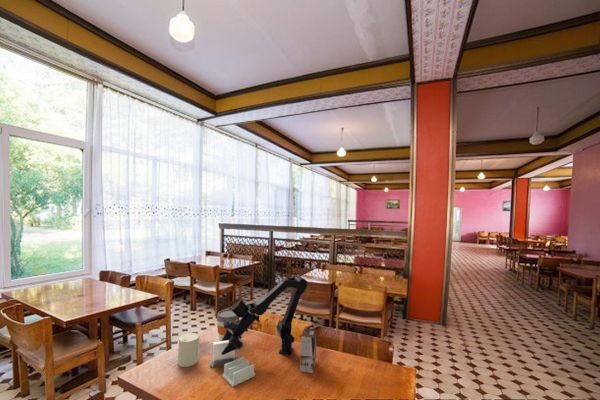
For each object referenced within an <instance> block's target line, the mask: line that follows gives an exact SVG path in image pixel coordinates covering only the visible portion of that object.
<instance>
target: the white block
mask: <svg viewBox="0 0 600 400" xmlns="http://www.w3.org/2000/svg"><path fill="white" fill-rule="evenodd" d="M228 343H229V340H226V341H215V342H214V341H213V346H212V361H213V363H212V365H214V361H216V360H222V359H228V358H233V357H234V360H235V356H236V350H233V351H231V352H229V353H226V354H224V355H222V354H221V353H222V352H223V350H224V349H225V347H226V346H227V345H228Z"/></svg>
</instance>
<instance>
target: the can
mask: <svg viewBox="0 0 600 400" xmlns="http://www.w3.org/2000/svg"><path fill="white" fill-rule="evenodd" d="M199 339H200V334H198V333H197V332H196V333H195V332H189V333H184V334H182V335H180V336H179V337H178V352H177V354H178V355H177V362H176V363H177V364H176V365H178V367H182V368H187V367H192V366H194V365H195V364H196V363H198V362H199V341H200V340H199Z"/></svg>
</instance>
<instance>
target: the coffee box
mask: <svg viewBox="0 0 600 400" xmlns="http://www.w3.org/2000/svg"><path fill="white" fill-rule="evenodd" d="M316 359H317V329H314V328H304V329H303V331H302V334H301V337H300V362H299V363H300V364H299V365H300V366H299V367H300V368H299V372H303V373H310V374H313V373H314V371H315V366H316Z"/></svg>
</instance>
